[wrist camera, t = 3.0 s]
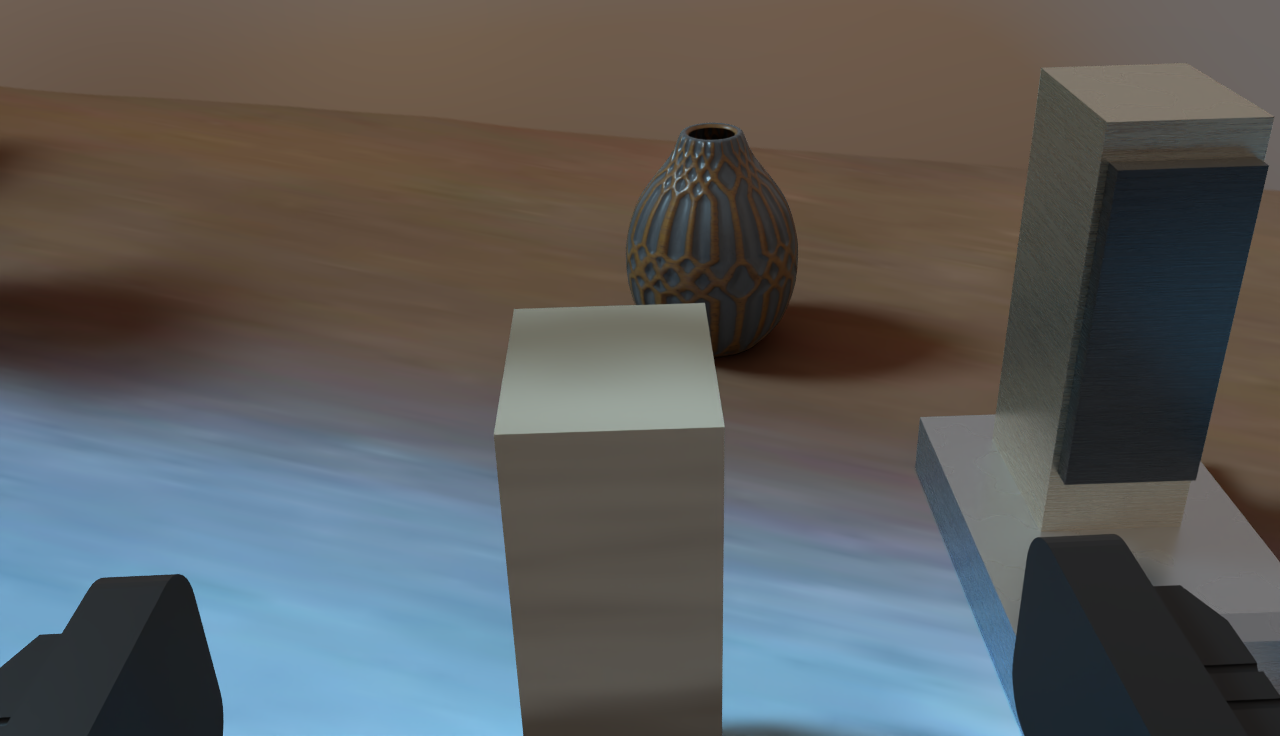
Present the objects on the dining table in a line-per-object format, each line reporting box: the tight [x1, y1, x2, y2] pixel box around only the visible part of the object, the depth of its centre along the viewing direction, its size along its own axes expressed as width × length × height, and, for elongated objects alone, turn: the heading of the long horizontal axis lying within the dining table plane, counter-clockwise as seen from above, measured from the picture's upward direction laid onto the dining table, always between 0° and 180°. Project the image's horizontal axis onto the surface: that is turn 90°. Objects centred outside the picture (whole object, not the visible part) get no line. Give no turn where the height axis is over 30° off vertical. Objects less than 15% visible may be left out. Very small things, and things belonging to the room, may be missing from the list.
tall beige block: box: [494, 303, 725, 736], centre depth 26 cm, size 6×4×12 cm
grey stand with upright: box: [915, 63, 1280, 736], centre depth 28 cm, size 22×8×14 cm, turn 1°
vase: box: [626, 123, 798, 357], centre depth 48 cm, size 7×7×9 cm
